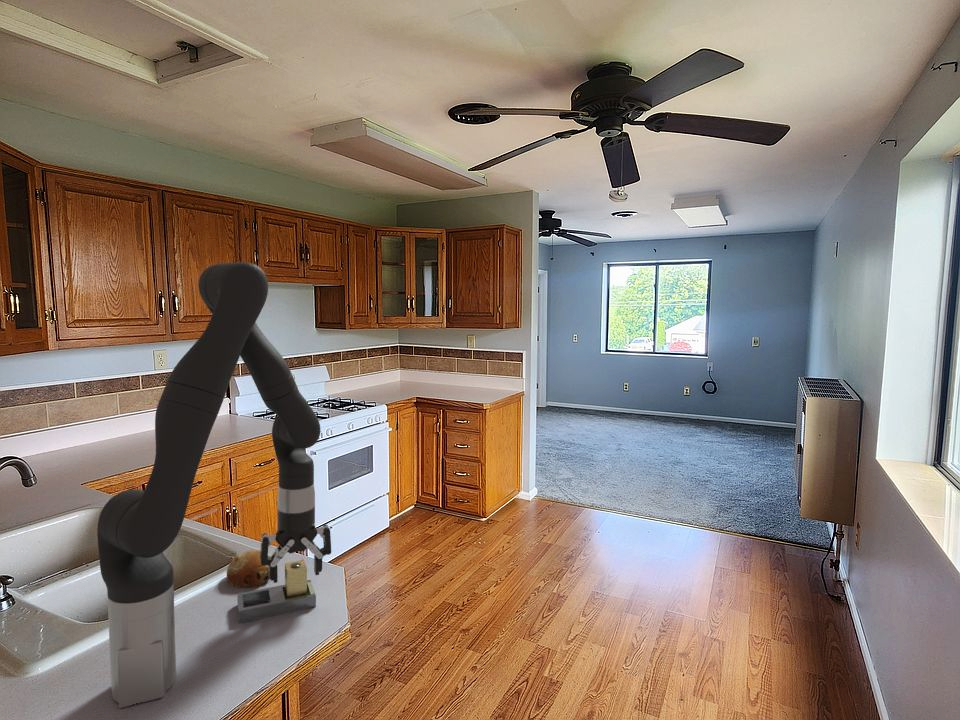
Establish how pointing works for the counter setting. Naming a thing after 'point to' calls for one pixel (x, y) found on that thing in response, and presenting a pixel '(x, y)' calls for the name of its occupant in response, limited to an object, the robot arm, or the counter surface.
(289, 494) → the robot arm
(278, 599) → the grey block holder
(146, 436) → the counter surface
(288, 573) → the tall beige wooden block
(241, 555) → the bread roll
